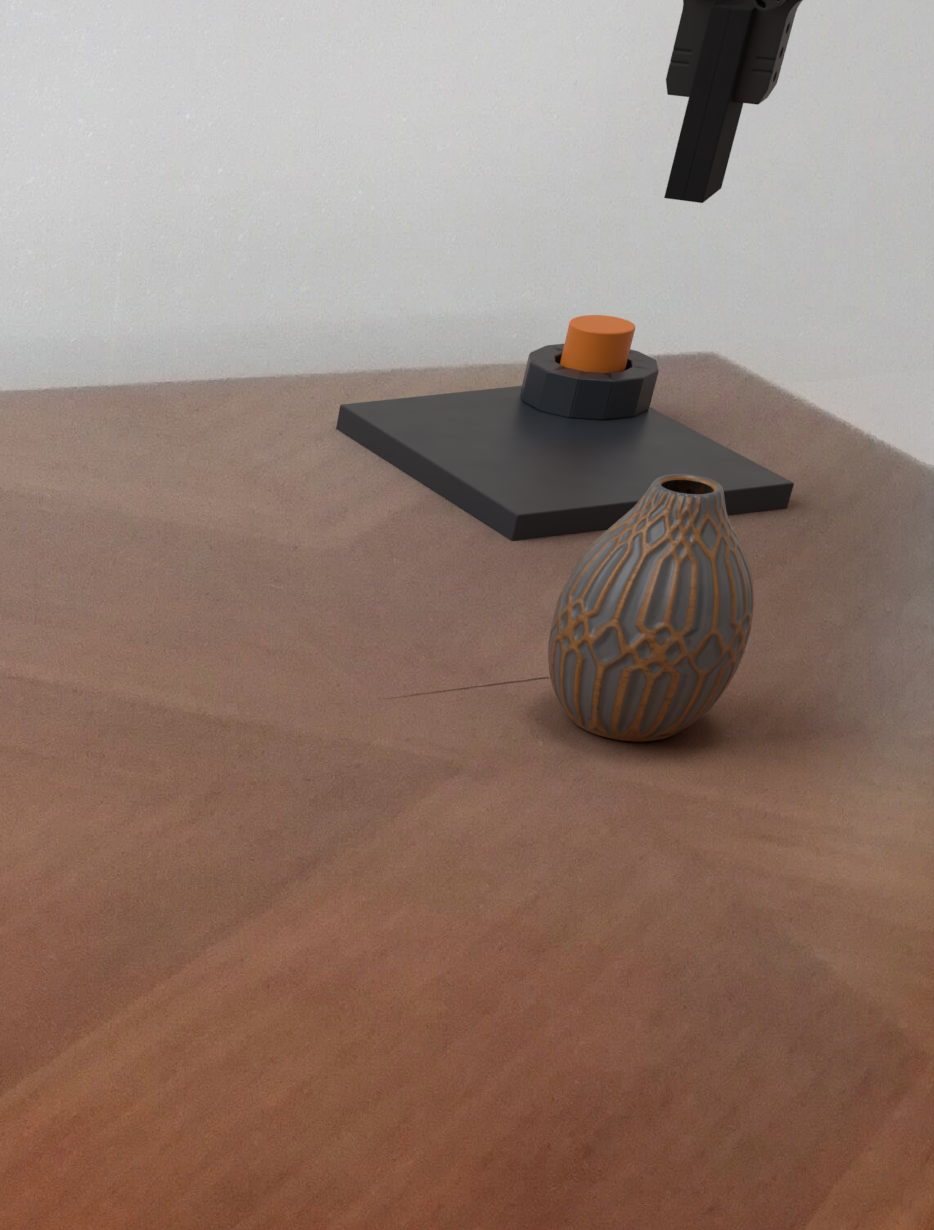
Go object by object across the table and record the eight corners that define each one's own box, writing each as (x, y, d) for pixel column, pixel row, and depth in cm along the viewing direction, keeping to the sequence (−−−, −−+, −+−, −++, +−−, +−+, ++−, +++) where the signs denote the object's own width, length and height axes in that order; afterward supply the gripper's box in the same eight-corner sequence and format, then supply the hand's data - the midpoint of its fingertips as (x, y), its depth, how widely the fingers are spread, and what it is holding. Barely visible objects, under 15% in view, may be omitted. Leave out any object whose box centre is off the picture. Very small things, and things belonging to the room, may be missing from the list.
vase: (497, 724, 94) (553, 487, 88) (581, 670, 97) (640, 440, 92) (670, 775, 90) (740, 532, 84) (750, 718, 94) (823, 481, 88)
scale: (795, 509, 111) (816, 440, 109) (511, 543, 108) (527, 472, 106) (596, 402, 123) (612, 338, 121) (335, 430, 120) (346, 364, 118)
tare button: (636, 375, 117) (648, 330, 116) (581, 381, 117) (592, 335, 115) (601, 357, 119) (612, 312, 118) (546, 363, 119) (557, 317, 117)
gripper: (1126, -599, 81) (887, 194, 97) (722, -597, 86) (558, 153, 102) (1086, -595, 76) (842, 237, 92) (661, -594, 82) (499, 192, 97)
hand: (693, 192), depth 97 cm, fingers closed
